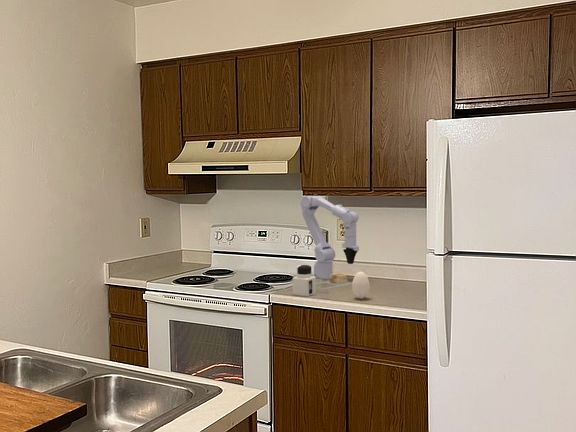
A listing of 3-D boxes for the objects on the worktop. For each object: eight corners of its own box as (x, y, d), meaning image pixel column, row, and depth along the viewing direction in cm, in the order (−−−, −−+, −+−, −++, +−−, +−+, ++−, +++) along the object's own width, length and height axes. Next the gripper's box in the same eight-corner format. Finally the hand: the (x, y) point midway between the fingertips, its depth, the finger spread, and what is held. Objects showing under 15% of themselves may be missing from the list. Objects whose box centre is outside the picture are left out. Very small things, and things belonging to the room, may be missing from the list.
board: (304, 287, 288) (304, 285, 288) (335, 281, 302) (335, 279, 302) (324, 291, 277) (324, 289, 277) (356, 285, 291) (356, 283, 291)
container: (316, 293, 273) (316, 265, 272) (306, 296, 266) (306, 267, 265) (301, 291, 277) (301, 263, 276) (292, 294, 271) (292, 265, 270)
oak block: (329, 282, 293) (329, 274, 293) (338, 281, 297) (338, 273, 297) (338, 284, 289) (338, 276, 289) (347, 282, 293) (347, 274, 293)
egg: (359, 296, 266) (359, 269, 265) (373, 298, 261) (373, 271, 260) (348, 298, 261) (348, 271, 260) (362, 301, 256) (361, 273, 255)
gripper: (336, 235, 302) (336, 262, 303) (349, 238, 289) (349, 266, 290) (349, 234, 305) (349, 261, 306) (362, 237, 291) (362, 265, 292)
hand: (350, 263), depth 298 cm, fingers closed
